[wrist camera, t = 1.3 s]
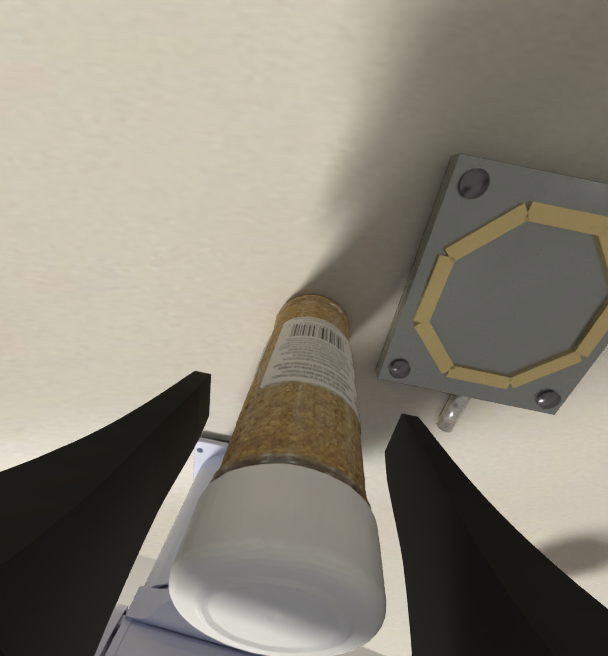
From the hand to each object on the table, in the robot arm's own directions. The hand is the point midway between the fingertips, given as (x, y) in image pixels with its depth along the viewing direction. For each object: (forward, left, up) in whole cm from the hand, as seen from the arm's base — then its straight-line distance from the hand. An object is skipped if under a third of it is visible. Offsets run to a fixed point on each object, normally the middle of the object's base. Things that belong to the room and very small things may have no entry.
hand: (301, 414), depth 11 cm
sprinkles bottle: (0, 0, -8) cm, 8 cm away
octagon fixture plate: (+2, -10, -8) cm, 13 cm away
